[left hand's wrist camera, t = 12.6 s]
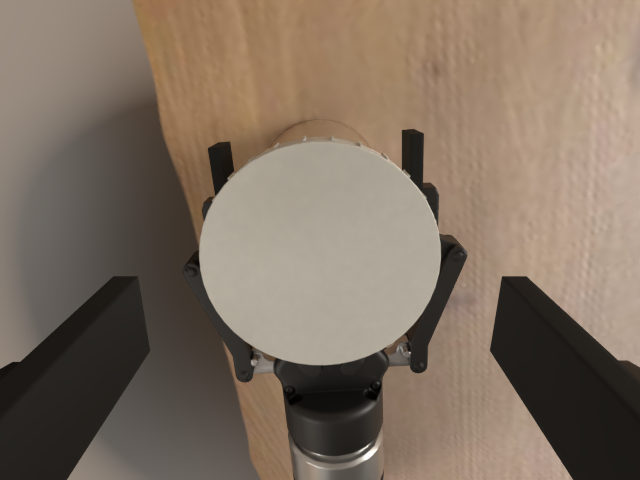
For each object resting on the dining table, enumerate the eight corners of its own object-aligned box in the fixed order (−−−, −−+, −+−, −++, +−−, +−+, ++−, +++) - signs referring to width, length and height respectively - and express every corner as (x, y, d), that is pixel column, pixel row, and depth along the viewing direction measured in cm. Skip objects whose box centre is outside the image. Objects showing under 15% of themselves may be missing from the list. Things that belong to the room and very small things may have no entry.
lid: (223, 111, 17) (213, 113, 15) (463, 164, 17) (476, 171, 16) (195, 325, 20) (185, 344, 18) (397, 362, 21) (403, 383, 19)
